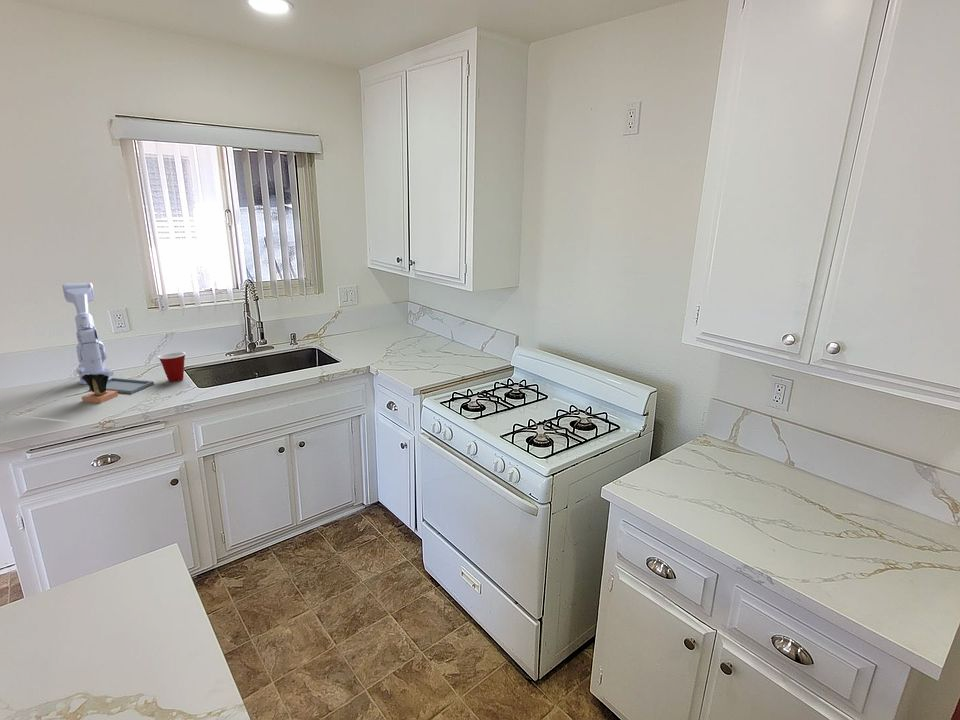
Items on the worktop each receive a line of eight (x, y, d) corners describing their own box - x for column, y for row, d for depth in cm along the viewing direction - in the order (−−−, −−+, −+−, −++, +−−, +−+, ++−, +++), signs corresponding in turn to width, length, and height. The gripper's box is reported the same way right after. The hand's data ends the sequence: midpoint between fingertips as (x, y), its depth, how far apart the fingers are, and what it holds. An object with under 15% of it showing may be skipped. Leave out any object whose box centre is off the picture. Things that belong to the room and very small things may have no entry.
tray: (89, 390, 218) (88, 386, 217) (113, 381, 229) (112, 377, 229) (132, 395, 215) (131, 390, 214) (154, 385, 226) (153, 381, 226)
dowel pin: (94, 399, 208) (90, 380, 206) (100, 396, 211) (96, 378, 209) (100, 400, 208) (96, 381, 205) (106, 397, 210) (103, 378, 208)
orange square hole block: (82, 402, 206) (81, 396, 205) (100, 395, 214) (99, 389, 213) (101, 404, 205) (99, 398, 204) (118, 396, 213) (117, 391, 212)
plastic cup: (183, 374, 240) (179, 349, 237) (193, 379, 234) (190, 354, 230) (157, 379, 232) (153, 354, 229) (167, 385, 226) (163, 359, 222)
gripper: (67, 360, 202) (74, 393, 206) (99, 363, 199) (106, 396, 204) (83, 355, 208) (89, 387, 212) (115, 358, 206) (121, 390, 210)
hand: (99, 391), depth 208 cm, fingers closed on dowel pin, 3 cm apart
